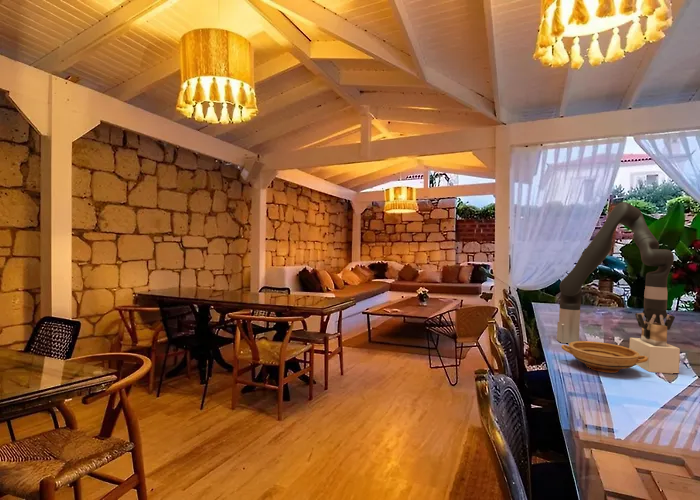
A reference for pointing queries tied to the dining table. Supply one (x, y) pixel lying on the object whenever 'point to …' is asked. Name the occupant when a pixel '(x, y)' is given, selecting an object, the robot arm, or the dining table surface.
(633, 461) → the dining table surface
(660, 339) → the tan wooden block
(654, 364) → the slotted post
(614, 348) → the ceramic bowl
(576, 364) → the dining table surface
